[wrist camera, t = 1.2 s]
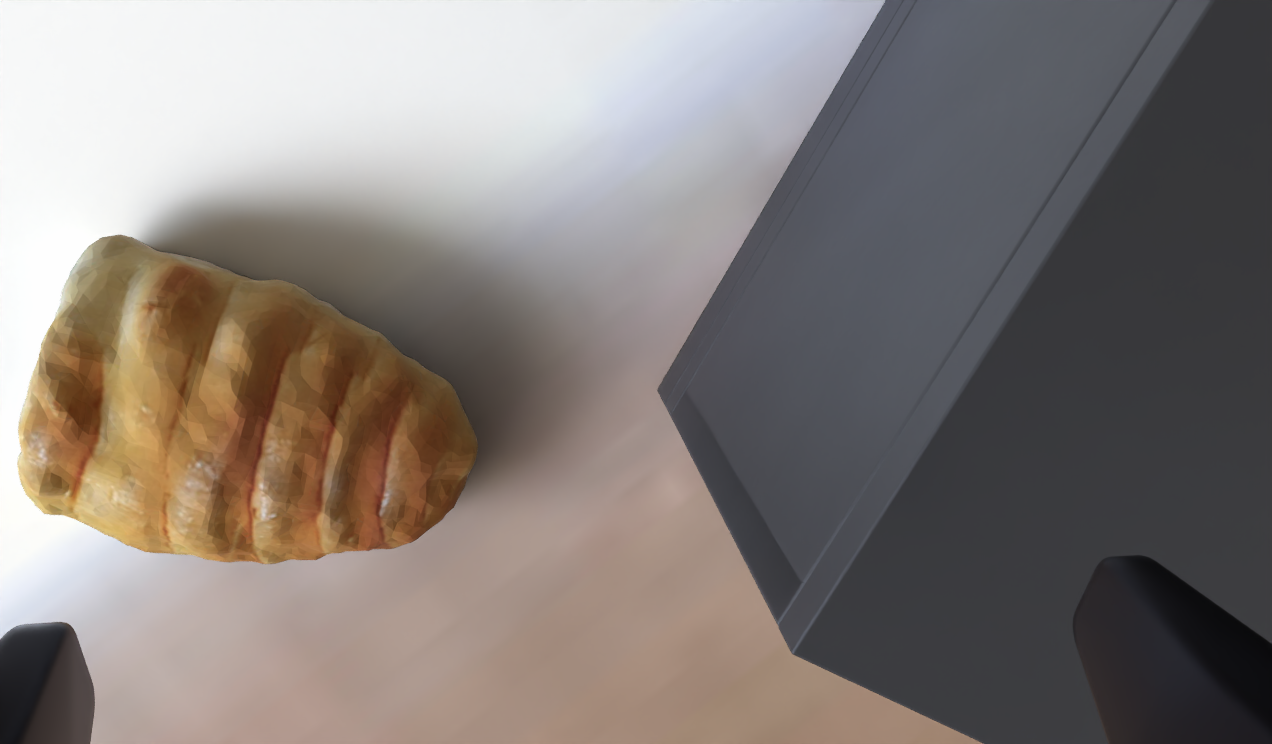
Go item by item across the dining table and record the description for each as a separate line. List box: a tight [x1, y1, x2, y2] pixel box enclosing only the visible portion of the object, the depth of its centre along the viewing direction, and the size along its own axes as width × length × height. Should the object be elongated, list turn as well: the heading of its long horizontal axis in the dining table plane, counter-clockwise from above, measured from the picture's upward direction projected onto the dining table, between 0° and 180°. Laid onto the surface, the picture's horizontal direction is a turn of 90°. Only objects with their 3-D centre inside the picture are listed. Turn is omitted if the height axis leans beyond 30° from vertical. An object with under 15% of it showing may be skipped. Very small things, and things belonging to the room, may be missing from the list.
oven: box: [658, 0, 1272, 744], centre depth 22 cm, size 11×15×12 cm
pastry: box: [17, 235, 478, 564], centre depth 25 cm, size 9×7×4 cm
